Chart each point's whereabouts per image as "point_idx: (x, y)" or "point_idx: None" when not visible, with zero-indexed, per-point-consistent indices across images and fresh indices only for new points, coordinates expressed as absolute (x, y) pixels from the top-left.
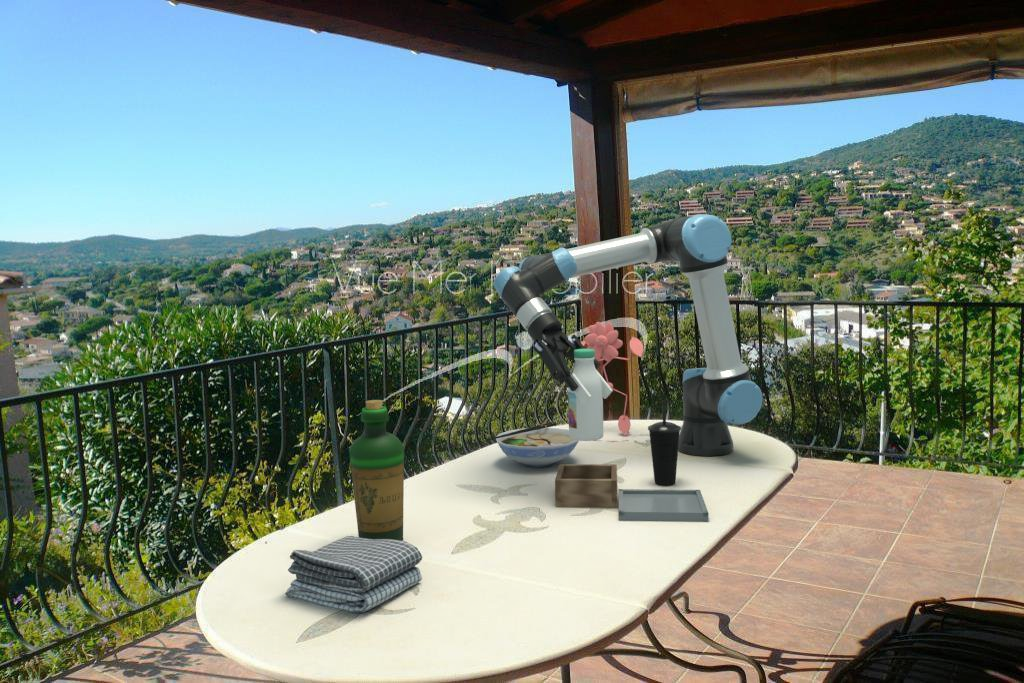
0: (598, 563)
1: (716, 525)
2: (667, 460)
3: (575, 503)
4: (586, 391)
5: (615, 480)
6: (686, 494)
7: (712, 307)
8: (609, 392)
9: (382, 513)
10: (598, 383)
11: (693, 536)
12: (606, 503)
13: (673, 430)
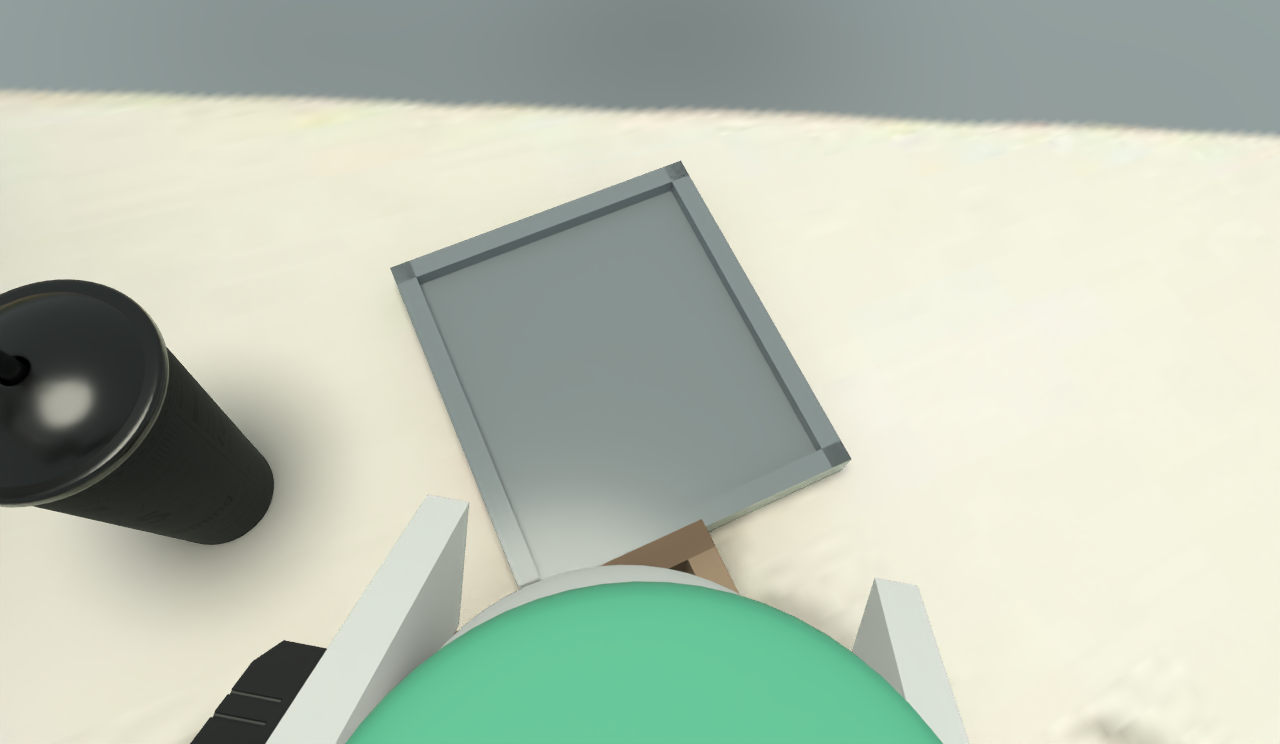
0: (1264, 355)
1: (704, 149)
2: (222, 414)
3: None
4: (917, 634)
5: (704, 526)
6: (433, 318)
7: None
8: (465, 529)
9: None
10: (653, 568)
11: (849, 181)
12: None
13: (131, 299)
